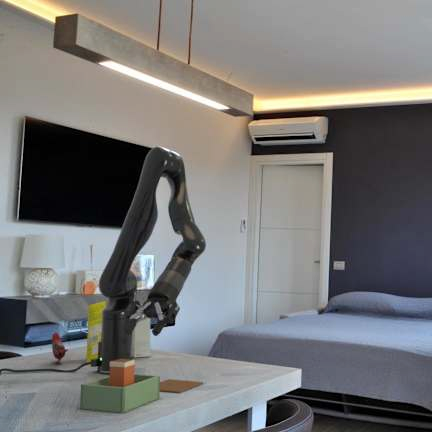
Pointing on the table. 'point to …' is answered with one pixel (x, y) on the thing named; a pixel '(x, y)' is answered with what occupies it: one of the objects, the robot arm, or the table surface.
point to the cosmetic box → (141, 339)
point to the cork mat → (177, 385)
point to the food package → (94, 329)
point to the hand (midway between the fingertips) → (140, 333)
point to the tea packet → (121, 373)
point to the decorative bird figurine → (58, 347)
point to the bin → (119, 394)
